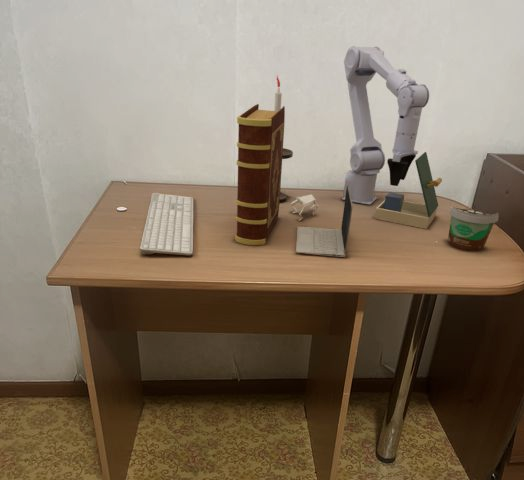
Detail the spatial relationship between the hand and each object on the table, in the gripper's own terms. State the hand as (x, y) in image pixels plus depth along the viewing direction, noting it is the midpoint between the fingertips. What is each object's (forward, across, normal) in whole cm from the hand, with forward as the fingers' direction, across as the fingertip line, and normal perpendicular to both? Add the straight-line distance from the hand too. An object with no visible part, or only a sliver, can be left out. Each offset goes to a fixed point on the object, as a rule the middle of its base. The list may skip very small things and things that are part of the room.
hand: (397, 182), depth 152 cm
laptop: (+10, -33, +10) cm, 36 cm away
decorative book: (+10, -34, +28) cm, 45 cm away
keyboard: (+10, -44, +50) cm, 67 cm away
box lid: (-1, 0, -8) cm, 8 cm away
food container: (+10, -15, -24) cm, 30 cm away
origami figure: (+10, -16, +22) cm, 29 cm away
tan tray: (+10, 0, -4) cm, 11 cm away
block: (+9, 0, 0) cm, 9 cm away
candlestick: (+10, -6, +37) cm, 39 cm away
